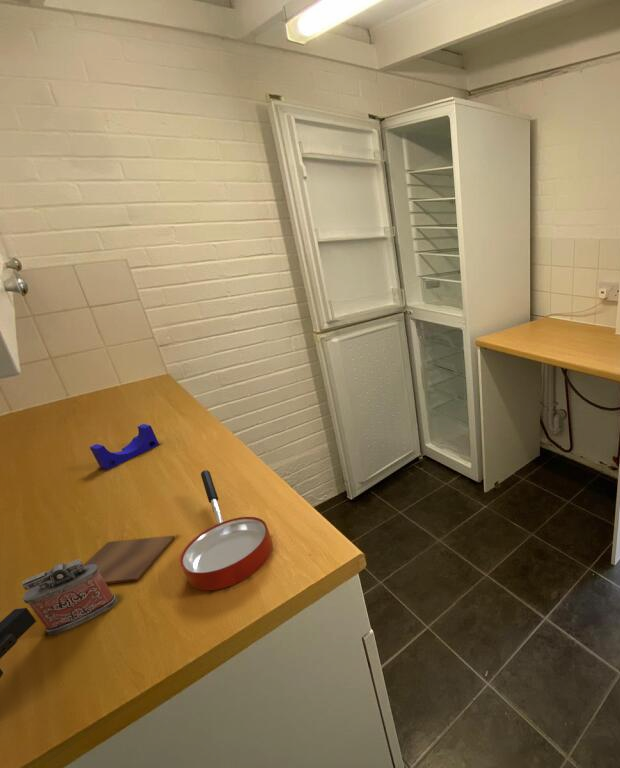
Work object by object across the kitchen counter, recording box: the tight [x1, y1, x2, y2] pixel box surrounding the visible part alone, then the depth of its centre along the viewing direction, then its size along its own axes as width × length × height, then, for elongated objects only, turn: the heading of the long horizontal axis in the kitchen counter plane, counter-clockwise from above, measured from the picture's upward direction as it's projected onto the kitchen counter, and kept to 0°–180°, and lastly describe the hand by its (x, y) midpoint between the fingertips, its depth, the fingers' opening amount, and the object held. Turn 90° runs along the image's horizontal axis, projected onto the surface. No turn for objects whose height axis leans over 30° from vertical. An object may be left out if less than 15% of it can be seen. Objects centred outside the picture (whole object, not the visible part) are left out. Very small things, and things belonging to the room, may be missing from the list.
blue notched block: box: [89, 423, 160, 471], centre depth 108 cm, size 12×4×6 cm, turn 159°
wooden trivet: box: [83, 535, 176, 585], centre depth 75 cm, size 12×10×1 cm
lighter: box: [21, 558, 118, 636], centre depth 64 cm, size 8×3×10 cm, turn 133°
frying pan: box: [179, 469, 274, 591], centre depth 80 cm, size 32×13×6 cm, turn 46°
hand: (25, 615), depth 58 cm, fingers closed
